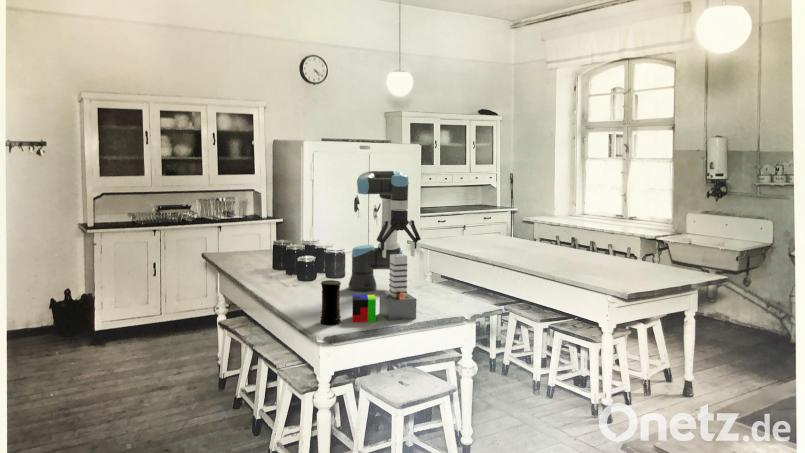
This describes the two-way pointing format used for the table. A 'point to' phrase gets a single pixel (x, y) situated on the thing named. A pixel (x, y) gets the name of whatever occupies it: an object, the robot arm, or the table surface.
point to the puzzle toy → (364, 308)
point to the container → (330, 302)
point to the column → (398, 275)
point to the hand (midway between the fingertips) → (398, 256)
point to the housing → (398, 307)
